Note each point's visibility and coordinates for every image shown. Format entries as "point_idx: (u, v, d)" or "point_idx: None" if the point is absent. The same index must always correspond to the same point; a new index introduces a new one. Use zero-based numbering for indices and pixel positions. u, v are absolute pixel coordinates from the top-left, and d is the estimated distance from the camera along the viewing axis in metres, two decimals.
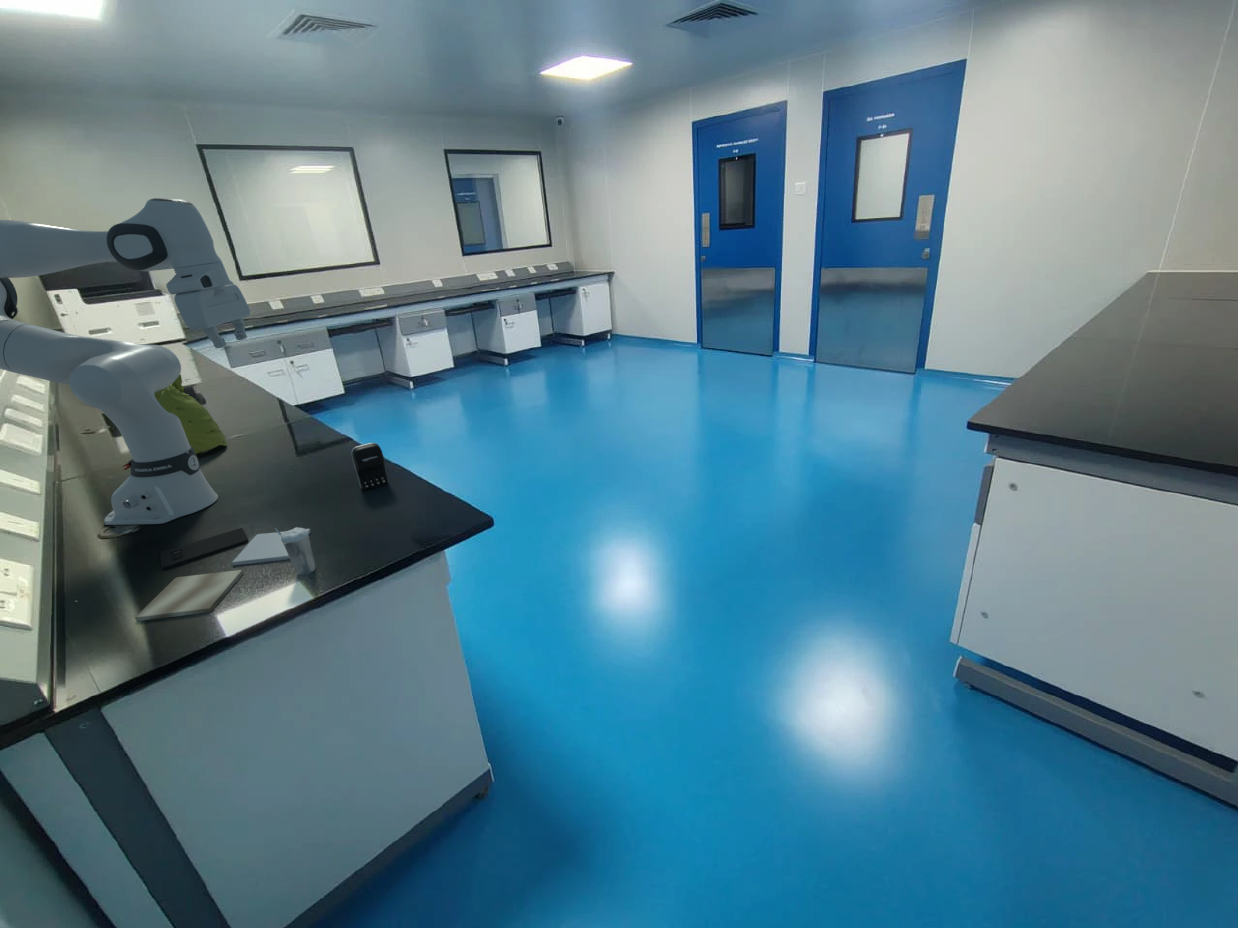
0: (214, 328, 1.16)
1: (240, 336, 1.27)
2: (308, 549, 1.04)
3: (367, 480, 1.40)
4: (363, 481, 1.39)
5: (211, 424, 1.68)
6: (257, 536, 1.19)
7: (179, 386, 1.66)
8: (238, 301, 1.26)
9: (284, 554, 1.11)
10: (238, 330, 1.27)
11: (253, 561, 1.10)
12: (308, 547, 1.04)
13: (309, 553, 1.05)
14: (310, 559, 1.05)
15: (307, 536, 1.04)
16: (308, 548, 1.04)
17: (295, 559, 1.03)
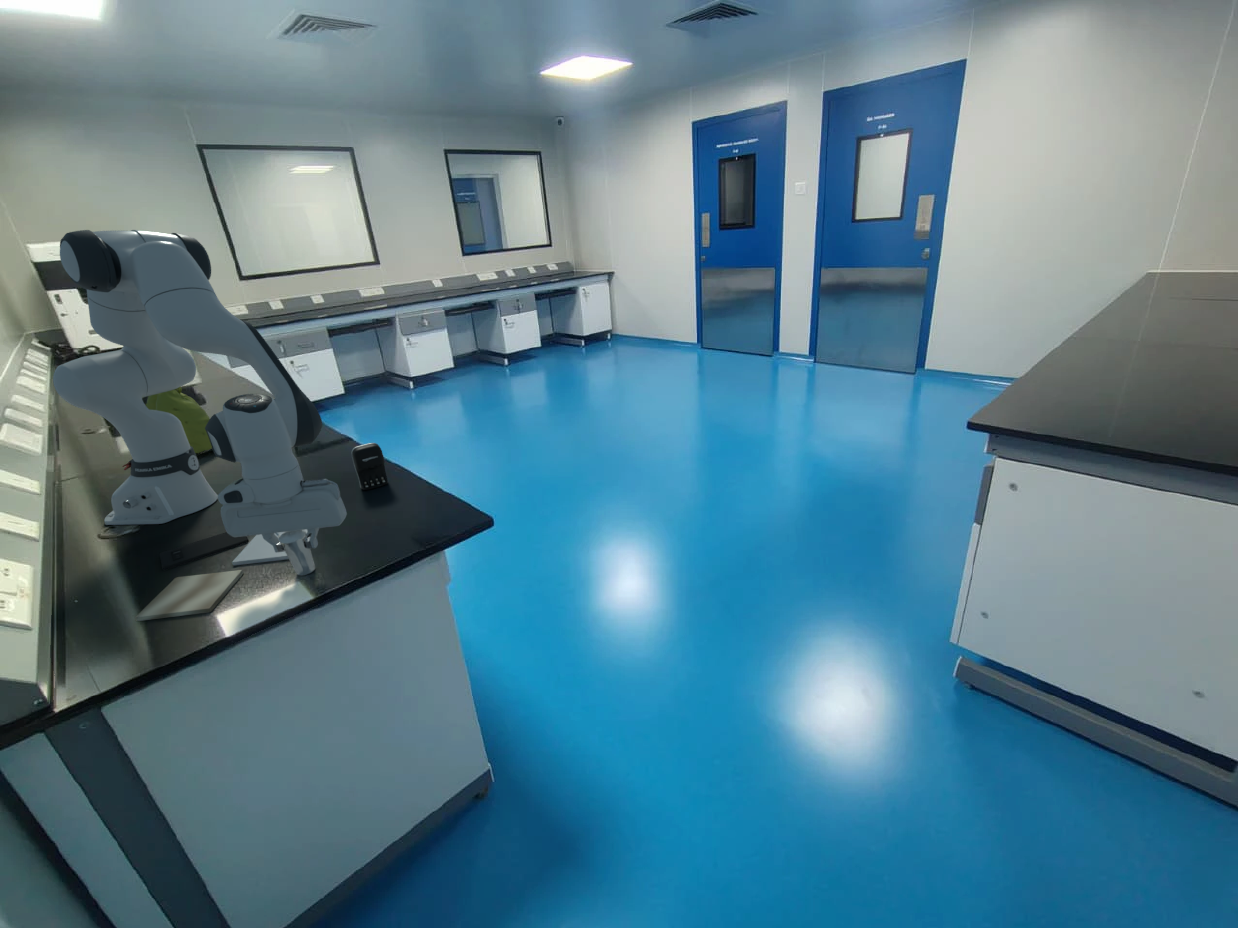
0: (264, 535, 1.01)
1: None
2: None
3: (367, 480, 1.40)
4: (363, 481, 1.39)
5: None
6: (257, 536, 1.19)
7: None
8: (316, 511, 1.00)
9: (284, 554, 1.11)
10: None
11: (253, 561, 1.10)
12: (306, 547, 1.04)
13: (308, 553, 1.05)
14: (309, 558, 1.05)
15: (305, 536, 1.04)
16: (306, 548, 1.04)
17: (294, 559, 1.03)
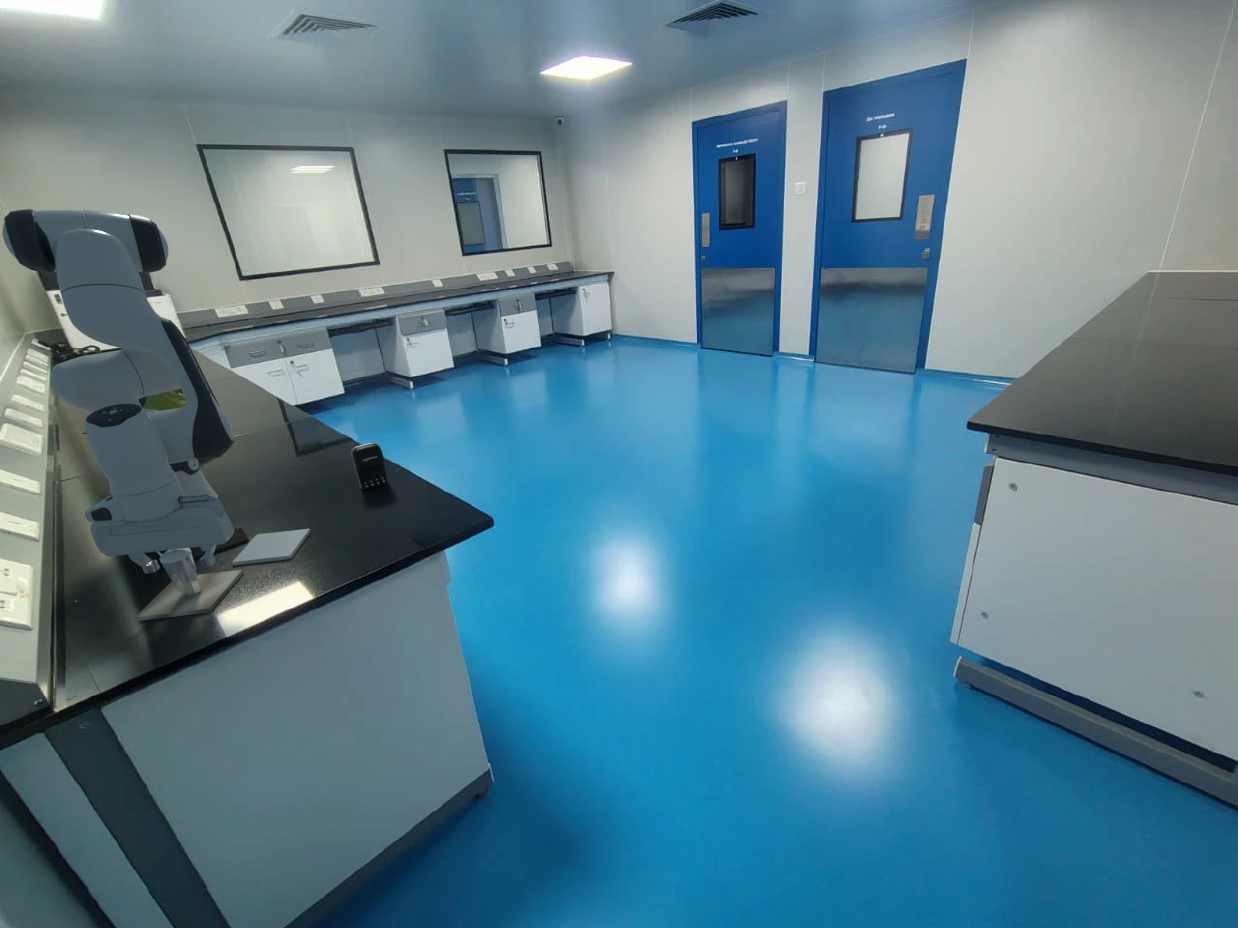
0: (131, 555, 0.95)
1: None
2: (192, 569, 0.98)
3: (367, 480, 1.40)
4: (363, 481, 1.39)
5: None
6: (257, 536, 1.19)
7: None
8: (197, 529, 0.94)
9: (284, 554, 1.11)
10: None
11: (253, 561, 1.10)
12: (191, 567, 0.98)
13: (192, 573, 0.99)
14: (194, 580, 0.99)
15: (189, 556, 0.98)
16: (191, 568, 0.98)
17: (176, 580, 0.97)
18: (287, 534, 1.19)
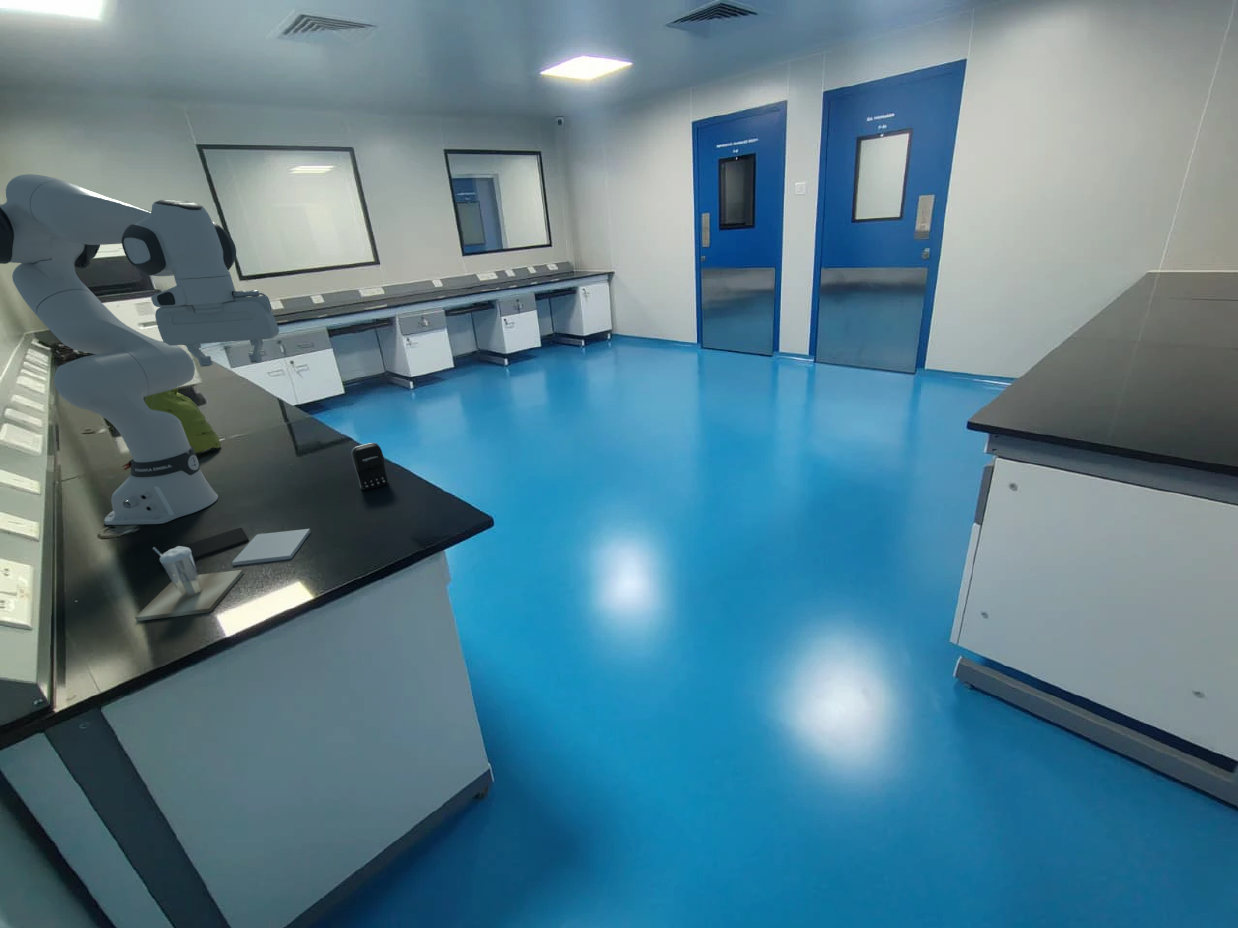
0: (189, 346, 1.07)
1: None
2: (192, 569, 0.98)
3: (367, 480, 1.40)
4: (363, 481, 1.39)
5: (203, 426, 1.66)
6: (257, 536, 1.19)
7: None
8: (248, 321, 1.06)
9: (284, 554, 1.11)
10: None
11: (253, 561, 1.10)
12: (191, 567, 0.98)
13: (192, 573, 0.99)
14: (194, 580, 0.99)
15: (189, 556, 0.98)
16: (191, 568, 0.98)
17: (176, 580, 0.97)
18: (287, 534, 1.19)
